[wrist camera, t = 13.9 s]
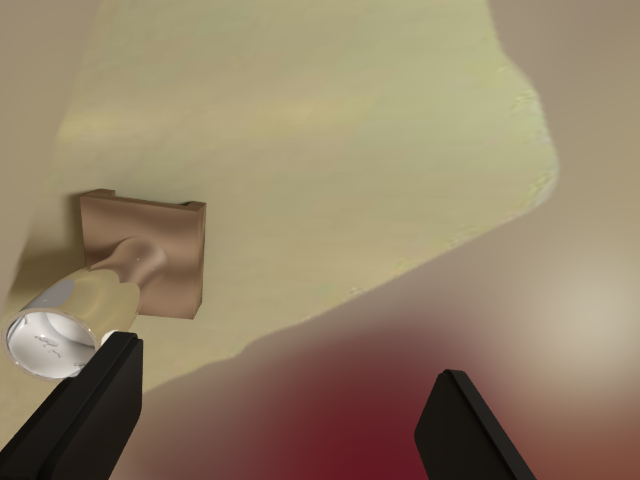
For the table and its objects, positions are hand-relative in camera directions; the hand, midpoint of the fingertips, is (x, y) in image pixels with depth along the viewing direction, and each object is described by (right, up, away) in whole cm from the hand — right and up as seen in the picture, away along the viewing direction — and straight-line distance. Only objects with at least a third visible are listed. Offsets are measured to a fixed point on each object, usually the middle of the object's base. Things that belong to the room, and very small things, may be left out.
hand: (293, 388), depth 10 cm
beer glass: (-20, +2, +27) cm, 34 cm away
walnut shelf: (-20, +3, +31) cm, 37 cm away
